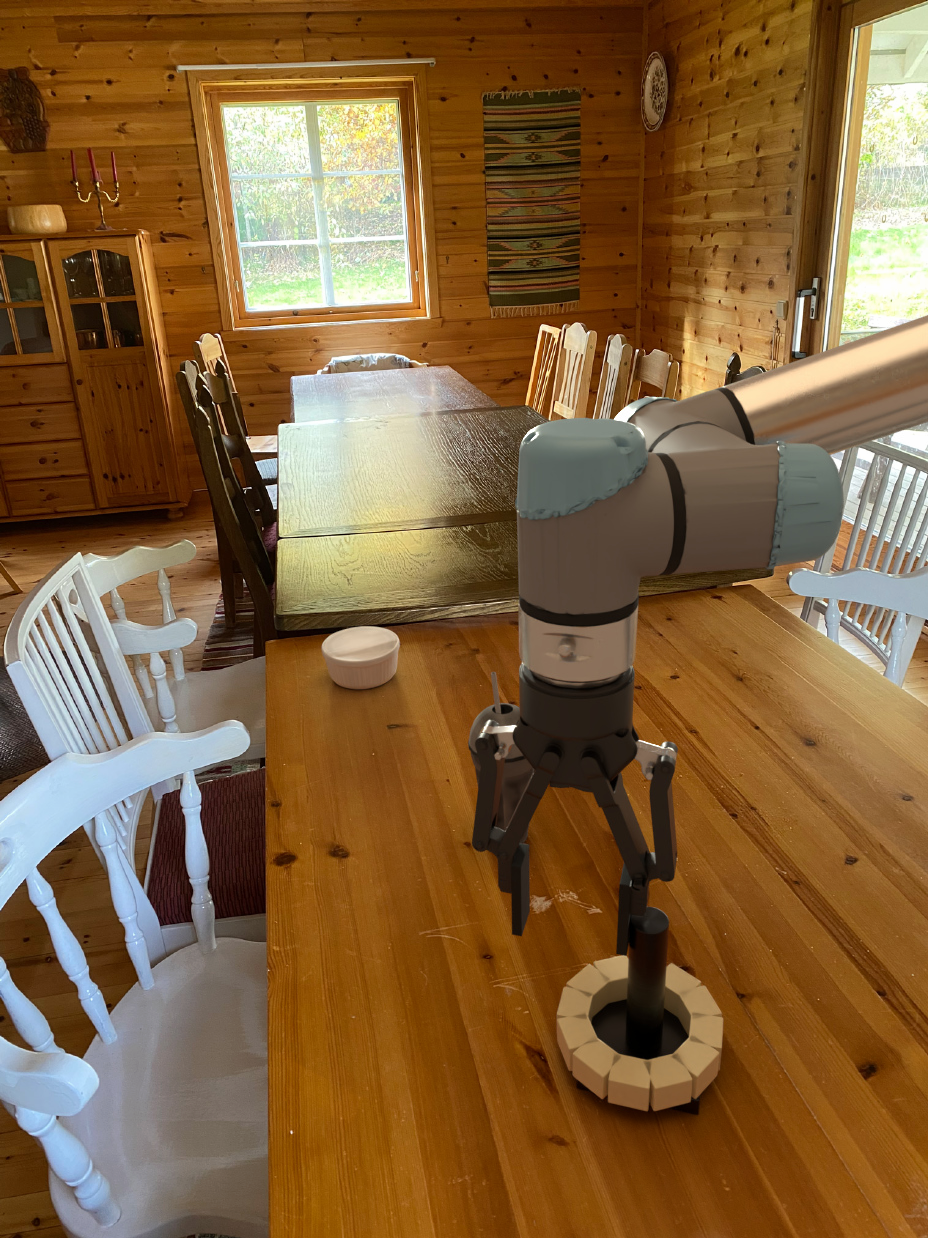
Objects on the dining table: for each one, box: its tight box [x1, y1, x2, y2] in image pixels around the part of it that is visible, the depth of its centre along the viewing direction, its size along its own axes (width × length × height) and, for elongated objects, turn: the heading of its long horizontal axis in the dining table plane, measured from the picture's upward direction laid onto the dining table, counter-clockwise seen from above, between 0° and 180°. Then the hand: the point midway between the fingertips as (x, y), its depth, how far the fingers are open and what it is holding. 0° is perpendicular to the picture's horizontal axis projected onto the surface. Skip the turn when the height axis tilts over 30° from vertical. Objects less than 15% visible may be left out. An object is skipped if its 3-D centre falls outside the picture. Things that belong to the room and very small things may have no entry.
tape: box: [556, 955, 724, 1112], centre depth 71 cm, size 12×12×2 cm
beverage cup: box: [467, 671, 534, 846], centre depth 93 cm, size 7×7×20 cm
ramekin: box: [321, 625, 401, 690], centre depth 131 cm, size 11×11×5 cm
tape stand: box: [576, 906, 701, 1115], centre depth 69 cm, size 9×9×14 cm
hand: (571, 932), depth 69 cm, fingers open, 7 cm apart
